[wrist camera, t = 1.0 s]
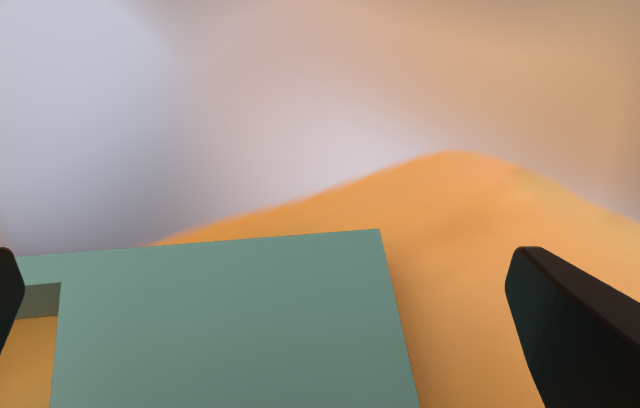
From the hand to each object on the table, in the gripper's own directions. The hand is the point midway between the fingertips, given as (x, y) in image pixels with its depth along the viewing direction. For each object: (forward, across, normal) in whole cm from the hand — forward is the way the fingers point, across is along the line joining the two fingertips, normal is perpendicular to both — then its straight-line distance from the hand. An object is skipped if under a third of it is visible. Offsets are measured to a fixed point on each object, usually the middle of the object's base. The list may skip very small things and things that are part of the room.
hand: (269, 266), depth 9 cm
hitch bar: (+6, +6, +11) cm, 14 cm away
